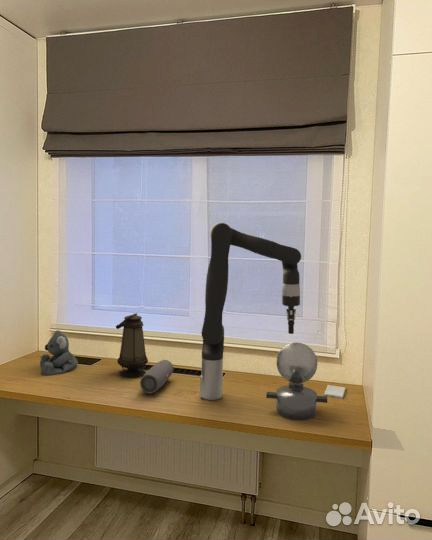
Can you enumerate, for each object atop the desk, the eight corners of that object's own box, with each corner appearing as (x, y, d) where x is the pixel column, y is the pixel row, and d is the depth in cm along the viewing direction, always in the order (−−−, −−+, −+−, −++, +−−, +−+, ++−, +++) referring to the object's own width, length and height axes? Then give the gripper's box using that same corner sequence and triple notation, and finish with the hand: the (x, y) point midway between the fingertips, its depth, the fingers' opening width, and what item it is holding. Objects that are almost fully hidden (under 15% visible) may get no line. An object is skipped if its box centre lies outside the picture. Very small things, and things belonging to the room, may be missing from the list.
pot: (265, 417, 173) (265, 397, 172) (266, 401, 188) (267, 383, 188) (328, 422, 169) (329, 402, 168) (324, 406, 185) (325, 387, 184)
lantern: (139, 381, 209) (140, 318, 207) (110, 378, 213) (110, 316, 210) (154, 369, 227) (154, 311, 224) (126, 366, 231) (127, 309, 228)
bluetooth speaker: (159, 397, 191) (159, 374, 190) (138, 395, 193) (138, 372, 192) (174, 379, 213) (174, 359, 212) (156, 378, 215) (156, 357, 214)
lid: (277, 342, 187) (277, 340, 191) (275, 384, 188) (275, 382, 191) (318, 344, 185) (317, 343, 188) (316, 387, 185) (316, 385, 189)
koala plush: (39, 366, 228) (38, 329, 226) (75, 363, 235) (75, 326, 234) (41, 377, 212) (40, 337, 210) (80, 372, 220) (80, 334, 218)
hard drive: (327, 384, 208) (323, 393, 196) (345, 387, 205) (342, 396, 193) (327, 388, 208) (323, 397, 197) (345, 390, 205) (342, 400, 194)
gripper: (282, 291, 198) (282, 327, 199) (282, 296, 184) (282, 335, 185) (299, 291, 197) (299, 327, 198) (300, 296, 183) (300, 335, 184)
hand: (290, 331), depth 192 cm, fingers open, 8 cm apart
